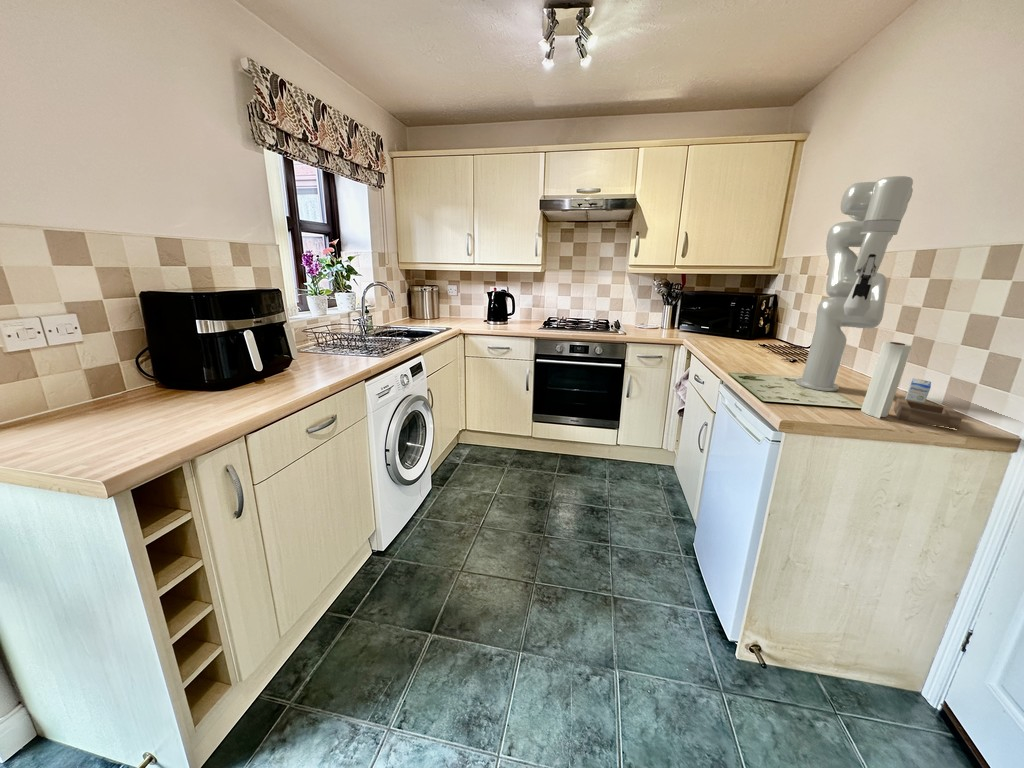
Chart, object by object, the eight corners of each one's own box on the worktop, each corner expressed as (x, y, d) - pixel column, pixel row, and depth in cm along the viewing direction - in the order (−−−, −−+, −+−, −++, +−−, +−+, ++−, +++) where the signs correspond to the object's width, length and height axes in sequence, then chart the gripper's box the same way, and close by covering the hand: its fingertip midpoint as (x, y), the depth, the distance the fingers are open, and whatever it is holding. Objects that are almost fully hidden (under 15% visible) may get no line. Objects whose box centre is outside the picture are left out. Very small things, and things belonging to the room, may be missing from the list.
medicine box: (903, 403, 132) (912, 377, 130) (922, 407, 129) (931, 381, 127) (901, 408, 127) (911, 382, 124) (921, 412, 124) (931, 385, 121)
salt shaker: (871, 317, 112) (887, 268, 108) (848, 315, 113) (862, 267, 109) (859, 314, 117) (873, 267, 113) (837, 313, 118) (850, 266, 114)
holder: (893, 408, 126) (897, 397, 125) (947, 418, 119) (951, 407, 118) (898, 419, 117) (902, 407, 116) (957, 430, 110) (962, 418, 109)
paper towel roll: (866, 409, 124) (889, 340, 118) (891, 416, 119) (916, 344, 113) (854, 412, 121) (877, 341, 115) (879, 419, 116) (904, 346, 110)
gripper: (861, 230, 116) (842, 296, 122) (862, 226, 104) (841, 299, 110) (896, 230, 112) (875, 298, 117) (901, 226, 100) (877, 302, 105)
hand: (859, 298), depth 113 cm, fingers closed on salt shaker, 3 cm apart
